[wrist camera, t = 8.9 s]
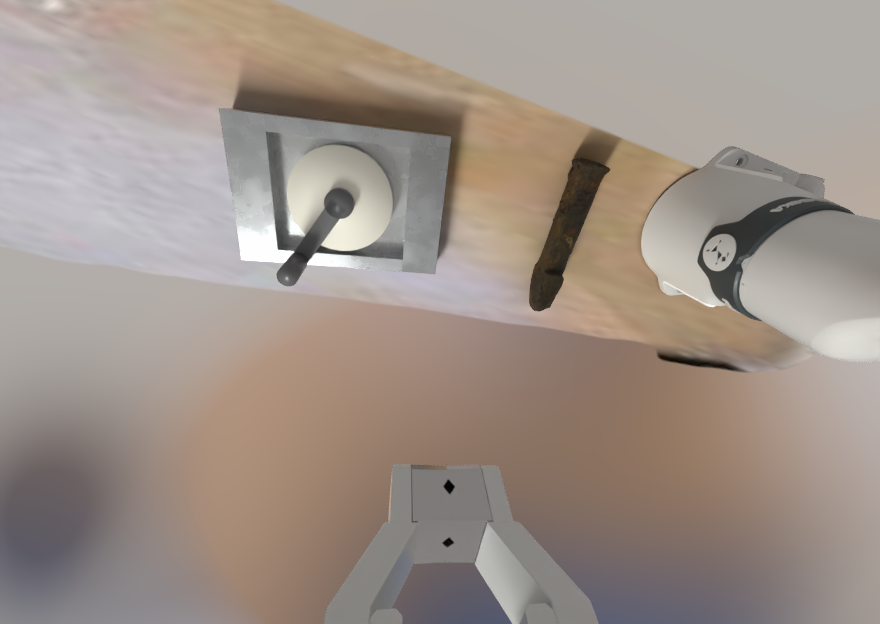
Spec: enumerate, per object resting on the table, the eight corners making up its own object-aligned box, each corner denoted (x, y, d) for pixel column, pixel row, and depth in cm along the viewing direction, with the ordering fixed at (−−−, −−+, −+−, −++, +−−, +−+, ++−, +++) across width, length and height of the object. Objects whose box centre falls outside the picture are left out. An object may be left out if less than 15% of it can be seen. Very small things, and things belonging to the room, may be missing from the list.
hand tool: (569, 153, 42) (586, 158, 38) (599, 163, 43) (620, 169, 39) (510, 297, 50) (519, 314, 46) (537, 303, 51) (548, 320, 47)
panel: (448, 135, 40) (451, 137, 37) (433, 269, 47) (434, 279, 44) (232, 108, 37) (218, 108, 34) (252, 255, 44) (242, 265, 42)
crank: (412, 191, 41) (414, 207, 35) (340, 283, 46) (329, 313, 39) (327, 119, 37) (310, 121, 30) (257, 228, 42) (229, 251, 35)
